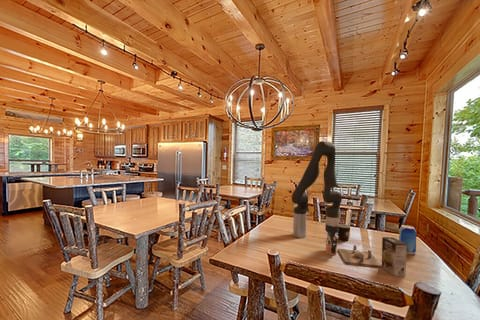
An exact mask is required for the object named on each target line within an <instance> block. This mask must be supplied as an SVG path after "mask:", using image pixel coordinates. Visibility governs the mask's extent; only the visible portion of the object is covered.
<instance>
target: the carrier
mask: <svg viewBox="0 0 480 320" xmlns="http://www.w3.org/2000/svg"><path fill="white" fill-rule="evenodd" d="M337 253H339V256H340V257H341V259H342V260H343V262H344V263H345V265H352V266H360V267H368V268H379V269H382V268H383V267H382V263H380V261H379V260H377V258H375V256H374V255H373V254H372V250H370V249H368V250H367V251H366V250H360V249H357V245H356V244H353V249H344V248H337Z"/></svg>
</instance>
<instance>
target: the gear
mask: <svg viewBox="0 0 480 320" xmlns="http://www.w3.org/2000/svg"><path fill="white" fill-rule="evenodd" d="M333 245H334V243H333ZM337 250H338V248H336V247H335V254H333V253H331V244H328V243H326V244H325V253H326V254H327V255H330V256H331V255H332V256H337Z"/></svg>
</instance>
